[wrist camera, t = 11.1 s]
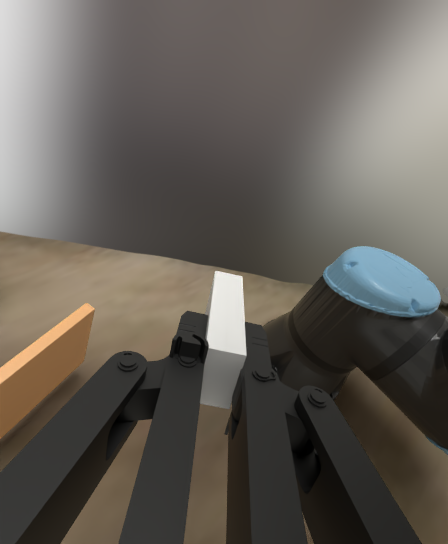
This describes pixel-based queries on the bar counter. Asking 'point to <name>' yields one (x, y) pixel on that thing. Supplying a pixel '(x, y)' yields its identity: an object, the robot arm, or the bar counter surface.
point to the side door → (43, 367)
